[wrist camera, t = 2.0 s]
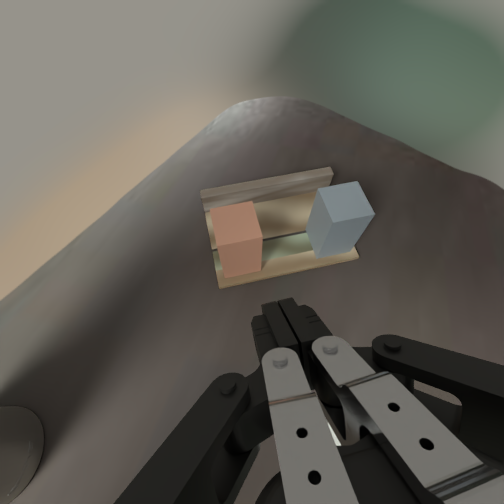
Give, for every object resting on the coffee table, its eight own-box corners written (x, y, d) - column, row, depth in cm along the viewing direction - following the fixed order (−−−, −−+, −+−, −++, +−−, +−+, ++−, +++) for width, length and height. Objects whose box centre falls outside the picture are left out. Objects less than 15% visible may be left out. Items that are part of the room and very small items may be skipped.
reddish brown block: (260, 270, 38) (262, 236, 30) (224, 278, 37) (216, 246, 29) (252, 239, 40) (252, 200, 32) (218, 246, 39) (209, 208, 31)
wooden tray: (357, 258, 39) (368, 244, 36) (219, 289, 37) (215, 277, 34) (324, 184, 46) (330, 166, 42) (204, 207, 44) (199, 190, 40)
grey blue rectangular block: (350, 251, 39) (375, 214, 31) (316, 258, 38) (333, 222, 30) (337, 222, 41) (357, 181, 33) (305, 229, 41) (317, 188, 33)
